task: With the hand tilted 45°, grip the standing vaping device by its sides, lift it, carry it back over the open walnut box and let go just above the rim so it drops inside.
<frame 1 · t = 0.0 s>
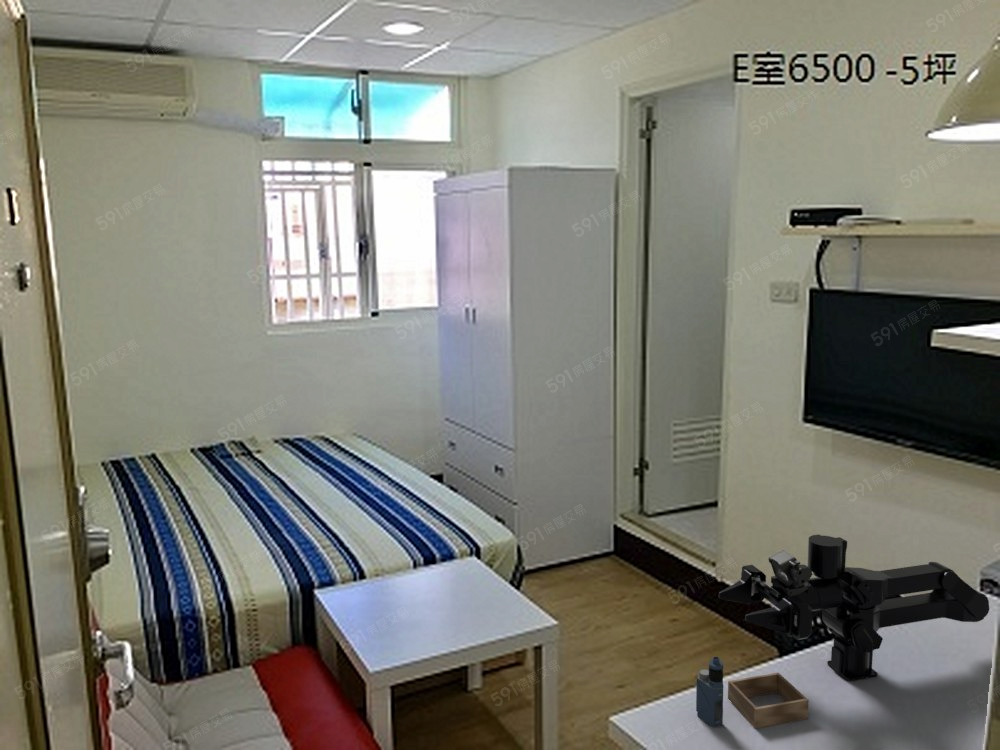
hand: (732, 606, 140), 17 cm above the table, tool horizontal, fingers open, 9 cm apart
vaping device: (709, 720, 135), on the table
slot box: (766, 708, 137), on the table
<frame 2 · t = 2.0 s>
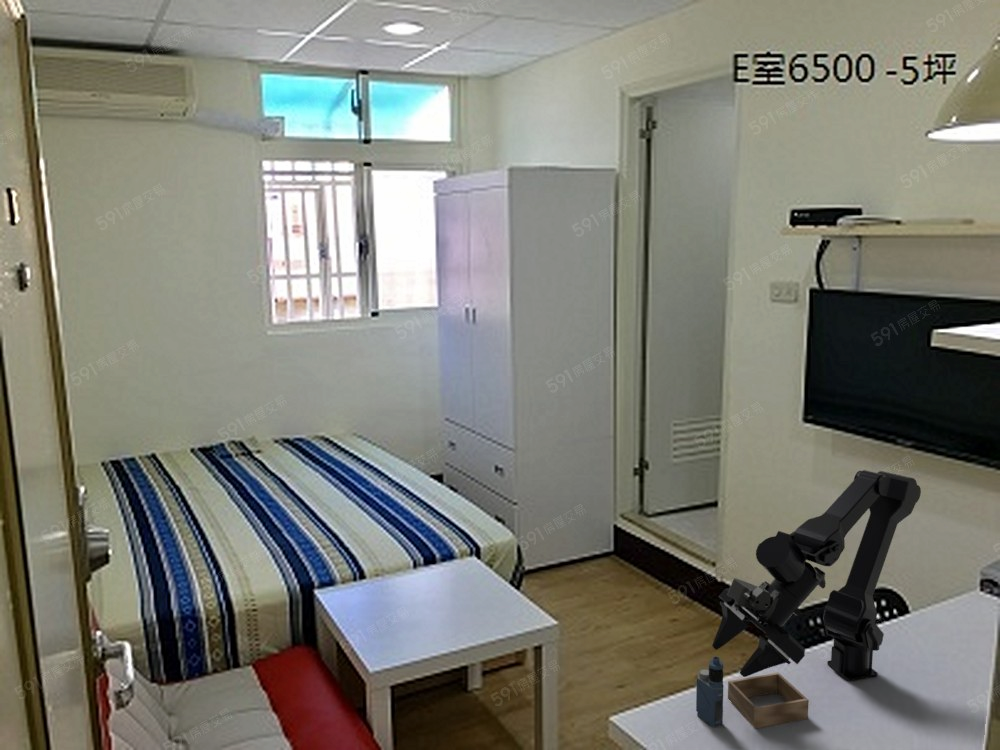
hand: (727, 661, 134), 10 cm above the table, tool tilted 45°, fingers open, 9 cm apart
nothing on the table moved.
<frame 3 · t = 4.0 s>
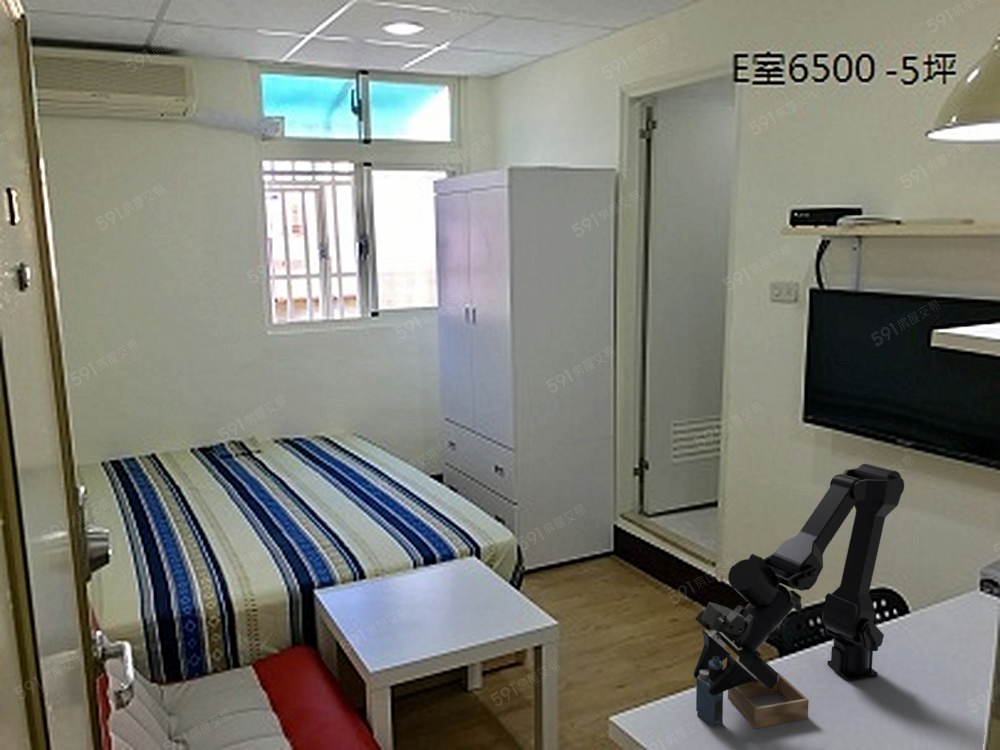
hand: (702, 685, 133), 7 cm above the table, tool tilted 45°, fingers closed on vaping device, 5 cm apart
vaping device: (709, 720, 135), on the table, touching gripper
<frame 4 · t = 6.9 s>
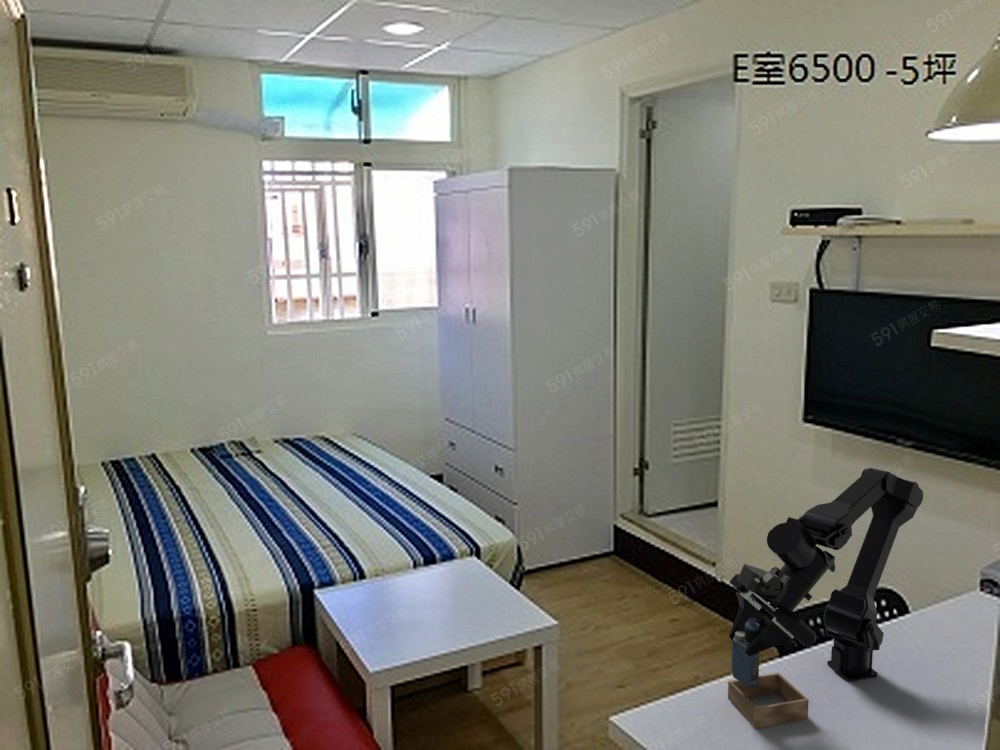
hand: (738, 646, 134), 13 cm above the table, tool tilted 45°, fingers closed on vaping device, 5 cm apart
vaping device: (745, 681, 136), point 6 cm above the table, touching gripper
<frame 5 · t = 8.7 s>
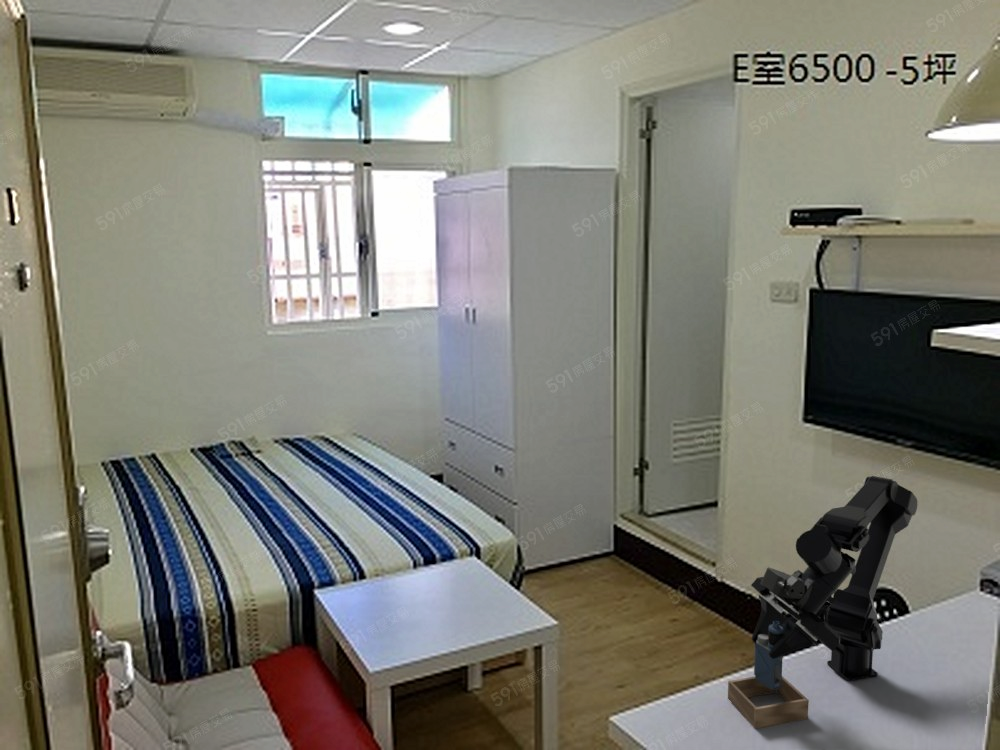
hand: (761, 649, 135), 11 cm above the table, tool tilted 45°, fingers closed on vaping device, 5 cm apart
vaping device: (767, 683, 137), point 5 cm above the table, touching gripper
when the fingers open (11 cm above the table, at t = 9.9 s): vaping device drops 4 cm, resting in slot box.
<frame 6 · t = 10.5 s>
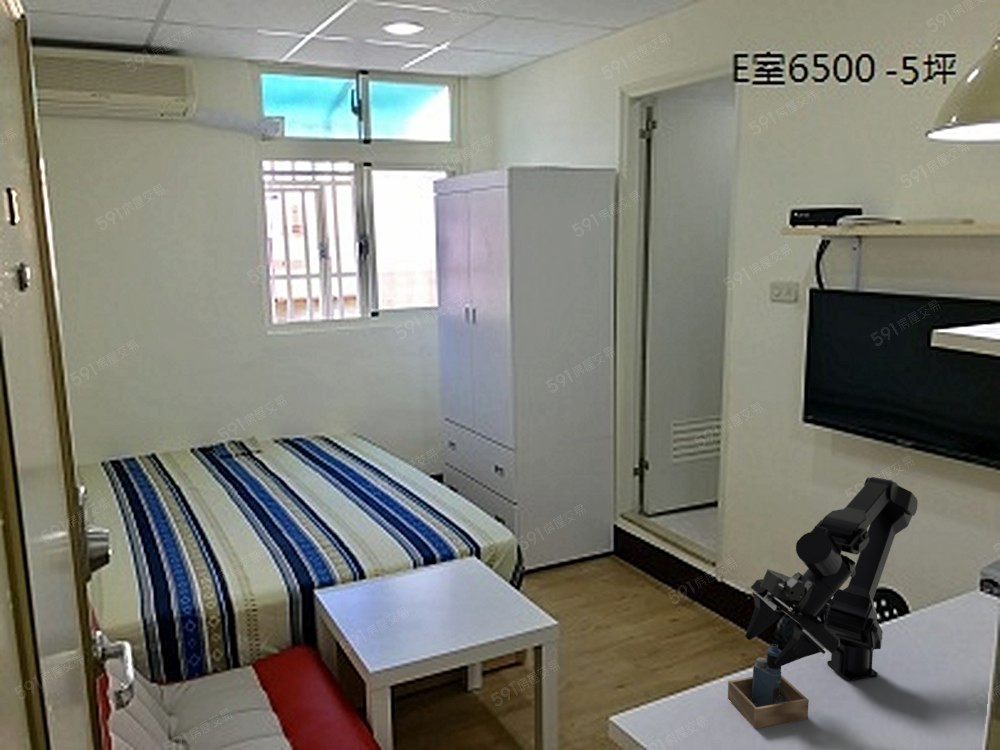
hand: (761, 651, 135), 11 cm above the table, tool tilted 45°, fingers open, 9 cm apart
vaping device: (765, 707, 138), resting in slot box
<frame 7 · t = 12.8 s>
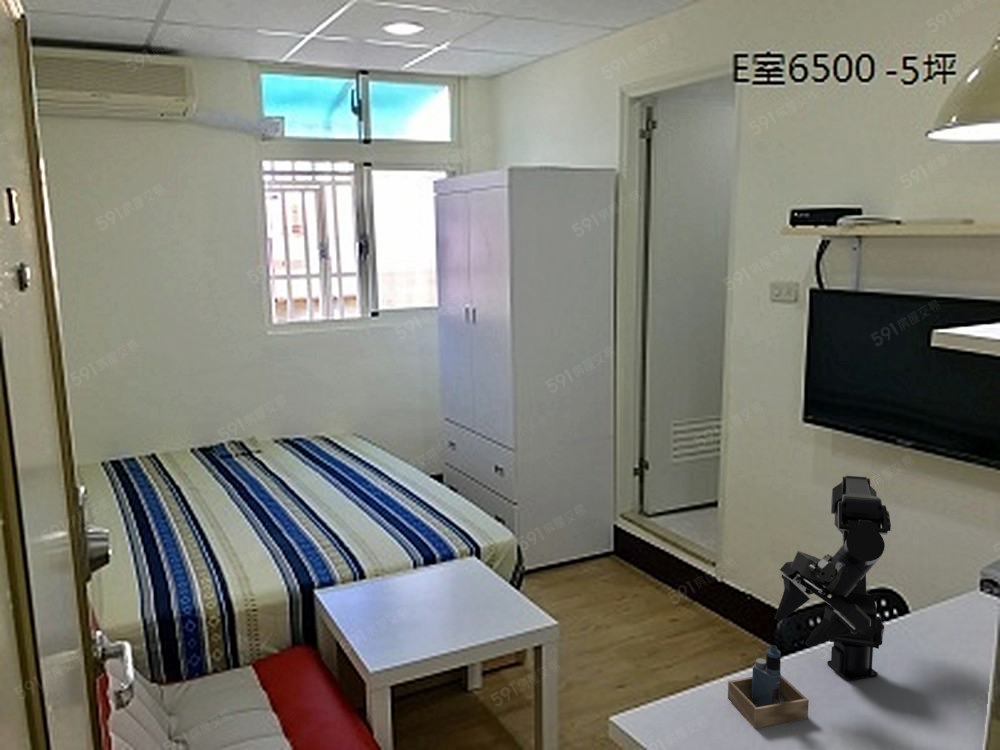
hand: (791, 632, 136), 14 cm above the table, tool tilted 45°, fingers open, 9 cm apart
nothing on the table moved.
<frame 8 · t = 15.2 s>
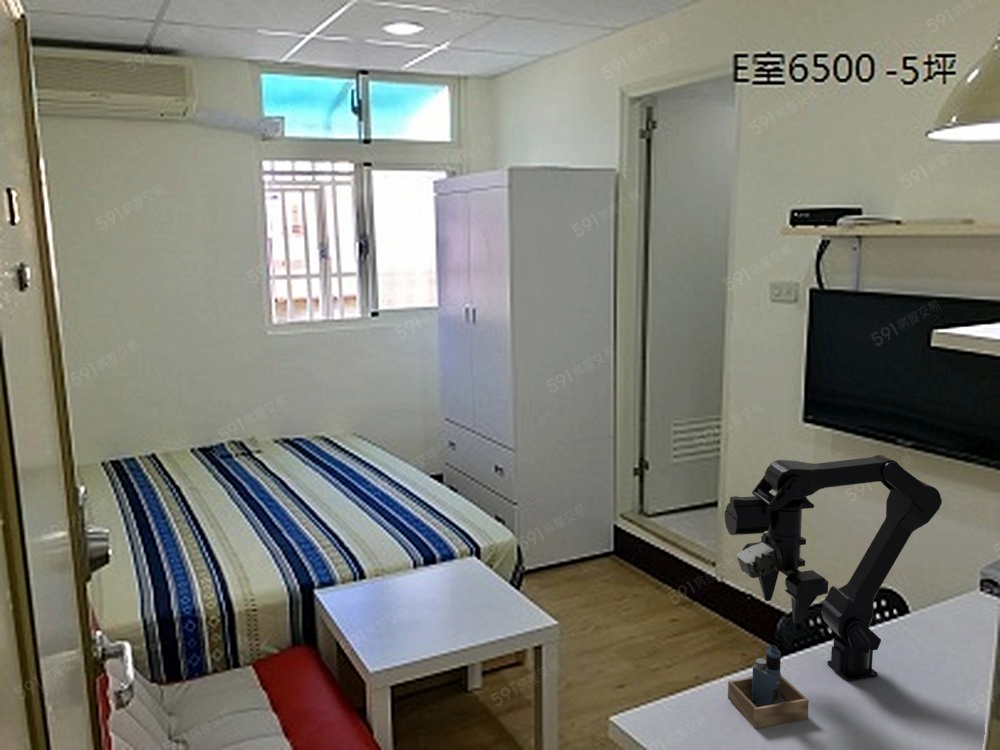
hand: (781, 611, 145), 13 cm above the table, tool pointing down, fingers open, 9 cm apart
nothing on the table moved.
at the end: vaping device inside the target area on the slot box (0.6 cm from its centre), point 0.0 cm above the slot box's base; the gripper is holding nothing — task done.
